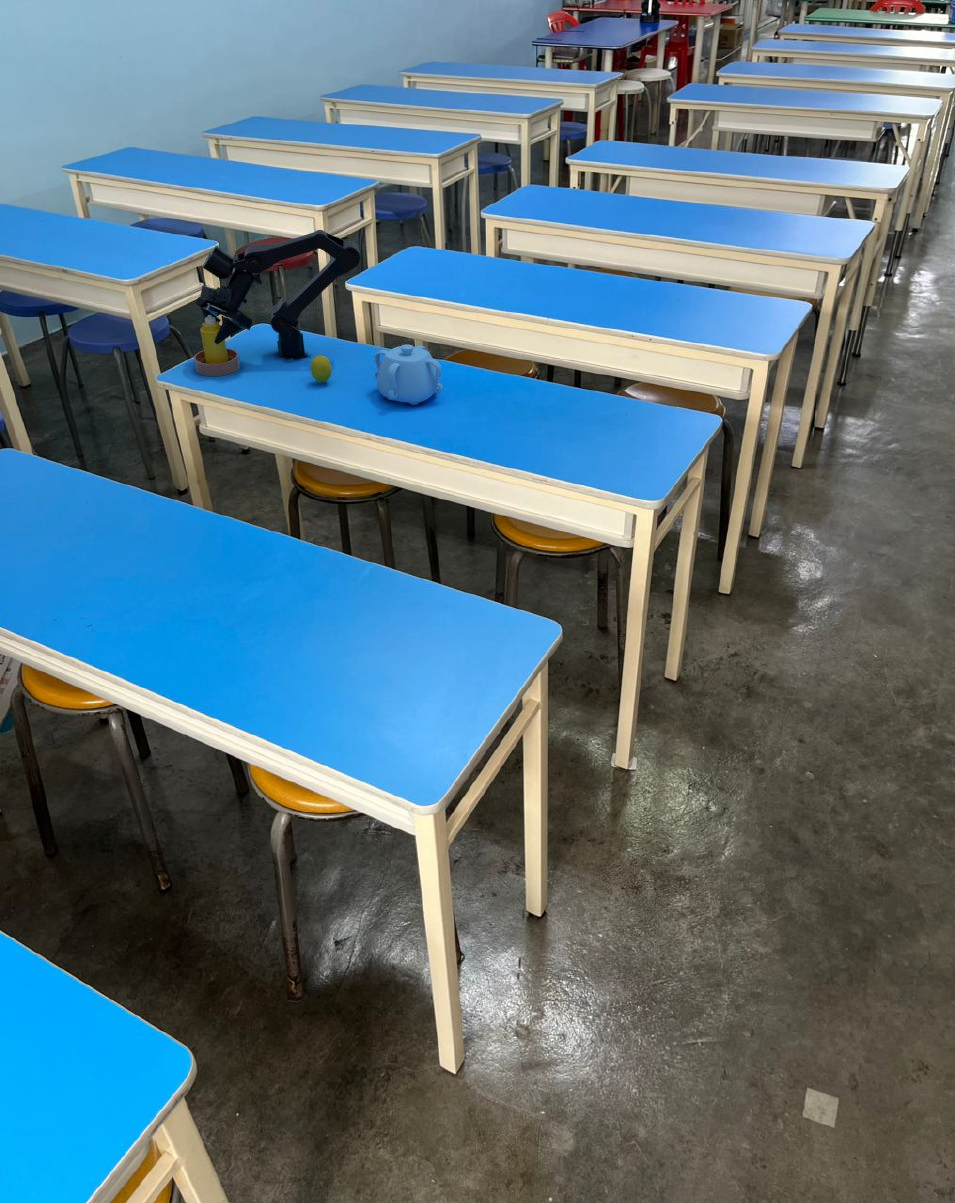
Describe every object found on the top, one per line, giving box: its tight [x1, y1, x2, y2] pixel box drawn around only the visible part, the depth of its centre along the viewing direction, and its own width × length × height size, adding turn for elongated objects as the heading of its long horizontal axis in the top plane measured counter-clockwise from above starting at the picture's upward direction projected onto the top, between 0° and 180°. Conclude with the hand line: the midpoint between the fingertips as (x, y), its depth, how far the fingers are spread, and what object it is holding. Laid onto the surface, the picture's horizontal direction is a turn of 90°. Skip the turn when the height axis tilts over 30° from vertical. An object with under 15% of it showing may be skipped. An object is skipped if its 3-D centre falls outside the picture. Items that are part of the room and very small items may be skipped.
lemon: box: [310, 354, 333, 384], centre depth 252 cm, size 6×6×8 cm
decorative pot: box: [374, 344, 444, 406], centre depth 244 cm, size 16×16×14 cm
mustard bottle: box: [199, 315, 228, 364], centre depth 256 cm, size 6×6×13 cm
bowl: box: [193, 347, 241, 377], centre depth 260 cm, size 12×12×4 cm
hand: (209, 340), depth 255 cm, fingers closed on mustard bottle, 6 cm apart
